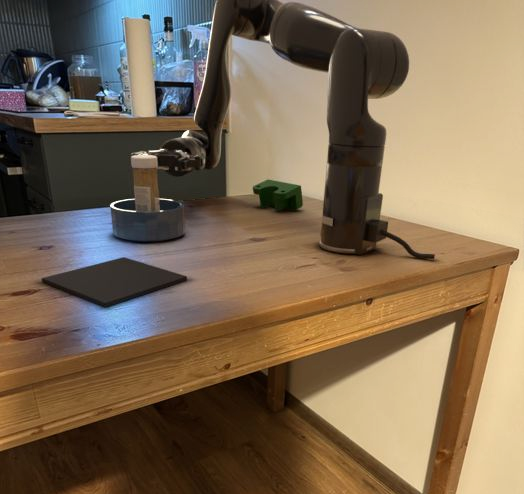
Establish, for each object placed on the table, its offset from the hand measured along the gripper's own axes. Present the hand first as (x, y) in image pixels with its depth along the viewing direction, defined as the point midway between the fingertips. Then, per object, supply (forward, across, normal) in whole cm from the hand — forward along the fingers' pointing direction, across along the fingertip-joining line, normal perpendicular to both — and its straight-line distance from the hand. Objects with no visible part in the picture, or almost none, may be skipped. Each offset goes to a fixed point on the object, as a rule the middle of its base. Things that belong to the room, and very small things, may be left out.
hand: (157, 164), depth 95 cm
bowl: (+7, 0, +12) cm, 14 cm away
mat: (+34, +4, +12) cm, 36 cm away
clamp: (-25, +21, +12) cm, 34 cm away
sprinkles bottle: (+7, 0, +12) cm, 14 cm away
